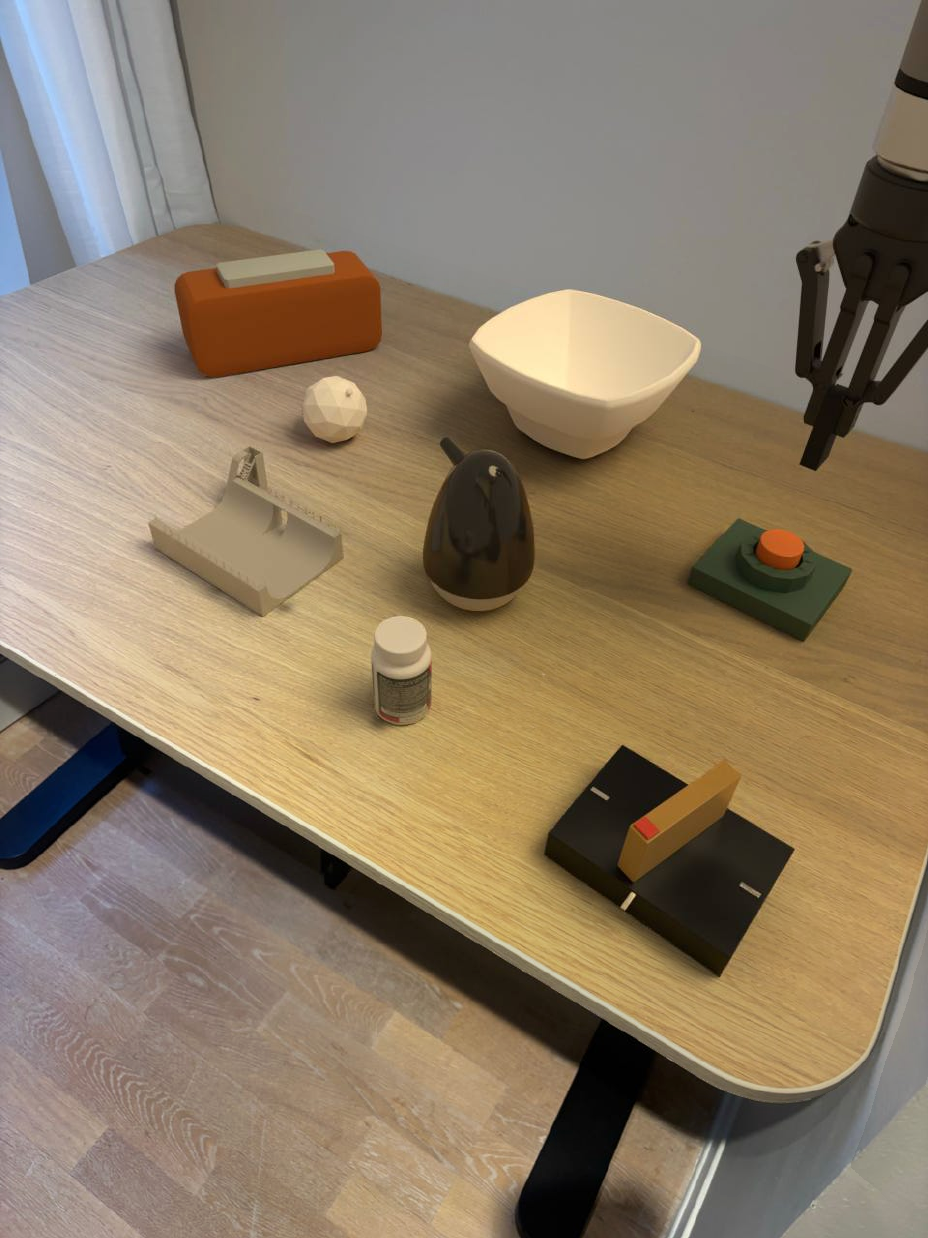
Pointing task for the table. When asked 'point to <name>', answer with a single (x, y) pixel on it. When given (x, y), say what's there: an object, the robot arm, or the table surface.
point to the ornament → (334, 409)
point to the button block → (769, 581)
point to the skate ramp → (252, 541)
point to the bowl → (581, 367)
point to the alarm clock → (278, 311)
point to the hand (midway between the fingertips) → (813, 460)
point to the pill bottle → (401, 670)
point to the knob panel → (669, 862)
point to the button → (779, 549)
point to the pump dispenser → (479, 531)
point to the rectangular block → (677, 820)
